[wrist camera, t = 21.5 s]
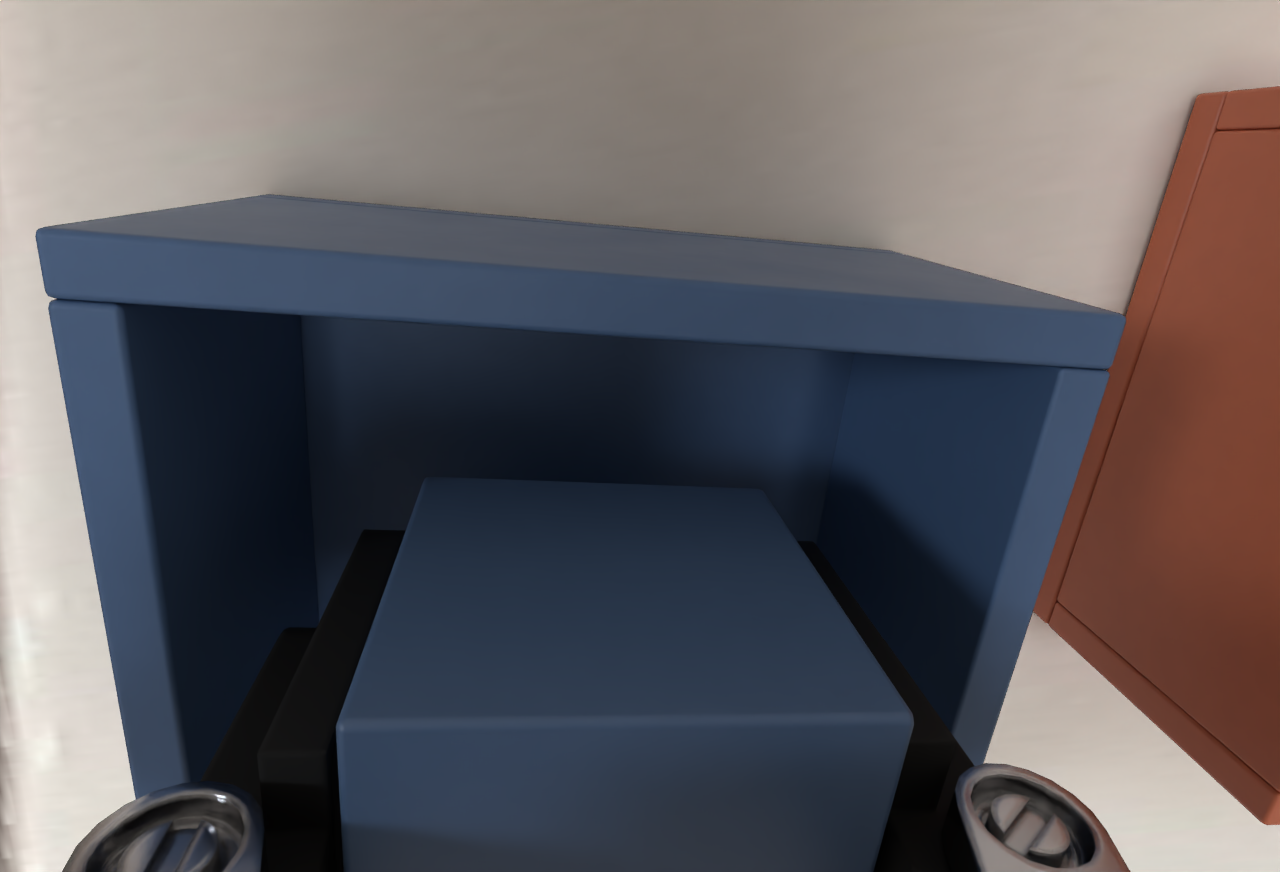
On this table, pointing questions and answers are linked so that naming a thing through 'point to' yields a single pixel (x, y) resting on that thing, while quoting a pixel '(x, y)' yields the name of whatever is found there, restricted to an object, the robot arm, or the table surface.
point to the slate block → (612, 691)
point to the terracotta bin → (1192, 466)
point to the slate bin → (543, 420)
